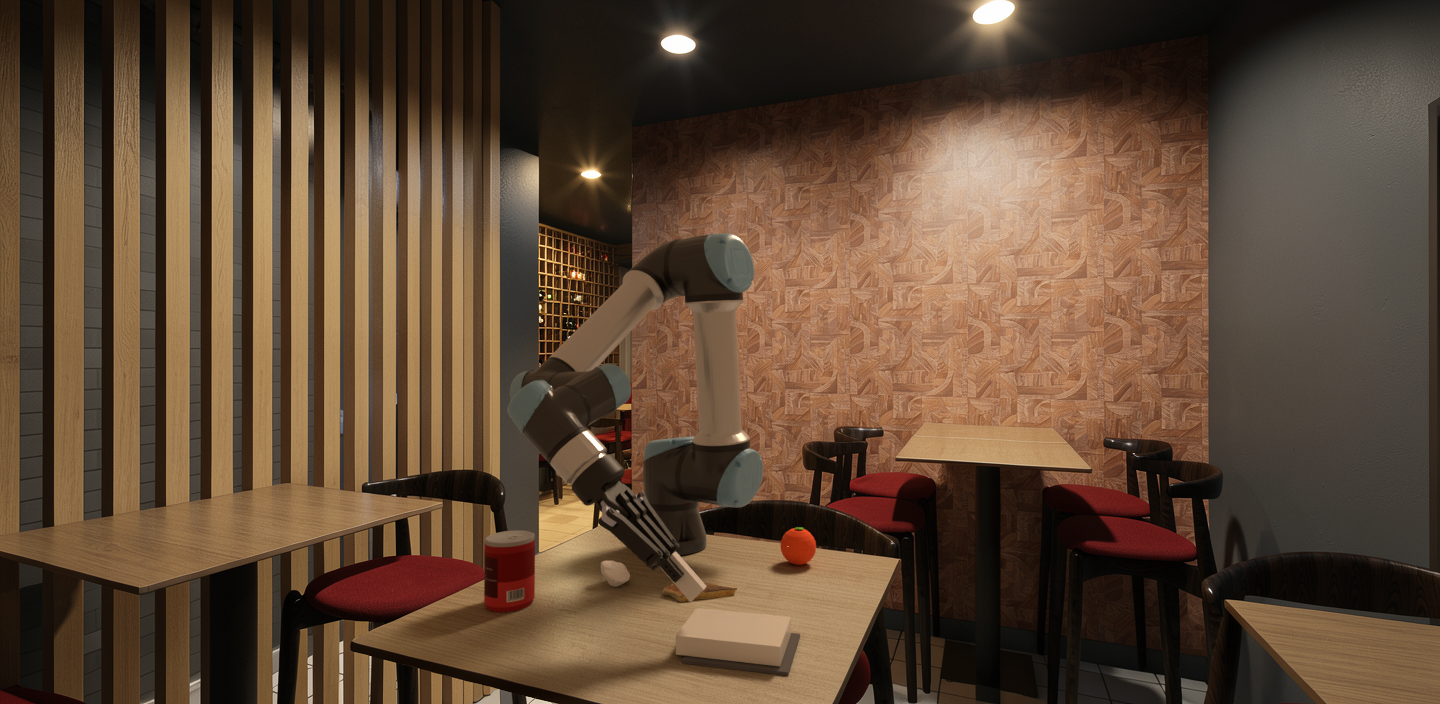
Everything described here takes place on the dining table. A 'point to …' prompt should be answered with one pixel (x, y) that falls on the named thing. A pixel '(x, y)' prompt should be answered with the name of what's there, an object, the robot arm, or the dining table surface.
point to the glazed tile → (735, 636)
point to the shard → (708, 592)
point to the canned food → (509, 570)
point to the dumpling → (614, 573)
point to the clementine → (798, 546)
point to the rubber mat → (780, 670)
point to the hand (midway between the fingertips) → (698, 594)
